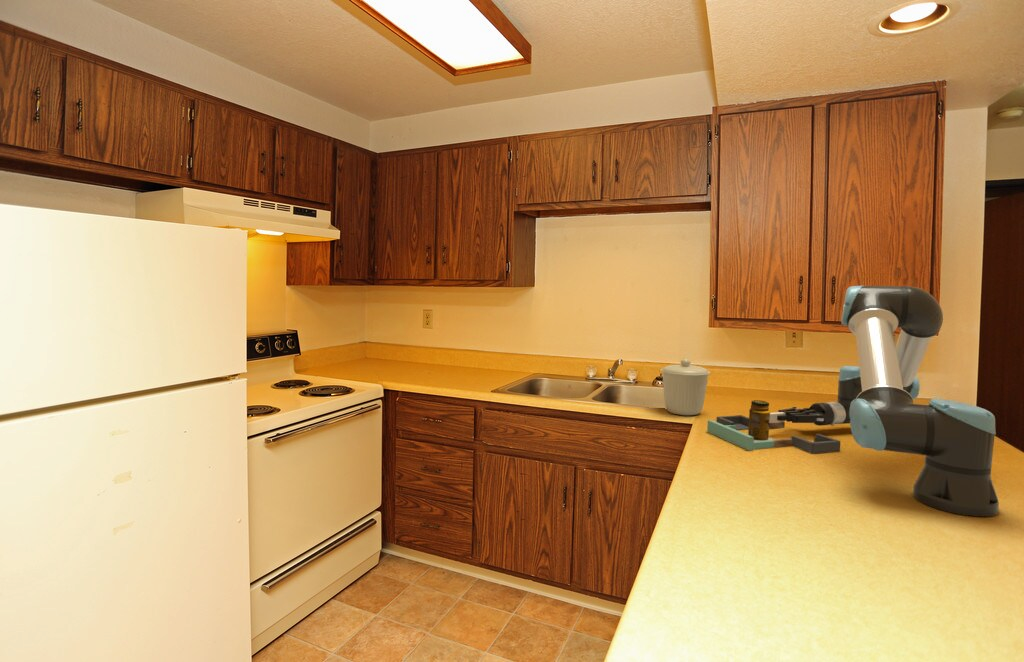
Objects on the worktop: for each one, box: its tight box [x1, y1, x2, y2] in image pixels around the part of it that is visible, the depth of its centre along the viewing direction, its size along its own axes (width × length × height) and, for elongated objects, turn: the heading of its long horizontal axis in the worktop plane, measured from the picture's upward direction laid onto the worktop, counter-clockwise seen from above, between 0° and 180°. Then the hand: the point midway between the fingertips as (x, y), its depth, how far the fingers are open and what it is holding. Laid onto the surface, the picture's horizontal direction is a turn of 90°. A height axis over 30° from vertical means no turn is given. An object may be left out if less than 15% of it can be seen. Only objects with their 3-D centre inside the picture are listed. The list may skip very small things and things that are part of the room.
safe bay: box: [706, 419, 774, 451], centre depth 171 cm, size 10×20×4 cm, turn 15°
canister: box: [660, 358, 711, 416], centre depth 206 cm, size 18×18×21 cm
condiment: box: [746, 399, 775, 442], centre depth 173 cm, size 7×8×12 cm
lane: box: [769, 421, 817, 448], centre depth 175 cm, size 20×19×2 cm
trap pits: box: [715, 414, 841, 454], centre depth 175 cm, size 18×34×3 cm, turn 15°
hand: (766, 417), depth 174 cm, fingers closed
